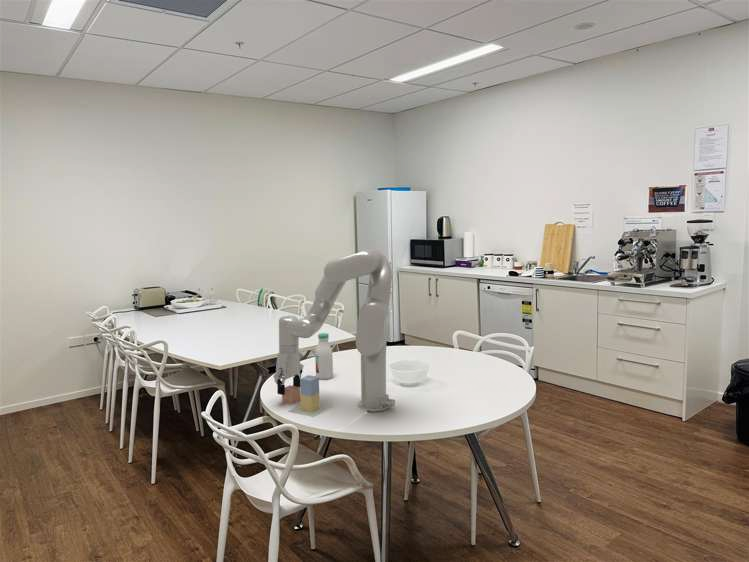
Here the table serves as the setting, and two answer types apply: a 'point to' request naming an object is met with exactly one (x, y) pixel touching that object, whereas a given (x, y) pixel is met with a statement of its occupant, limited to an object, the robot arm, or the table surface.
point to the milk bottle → (324, 358)
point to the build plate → (312, 414)
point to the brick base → (309, 402)
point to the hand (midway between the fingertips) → (289, 390)
